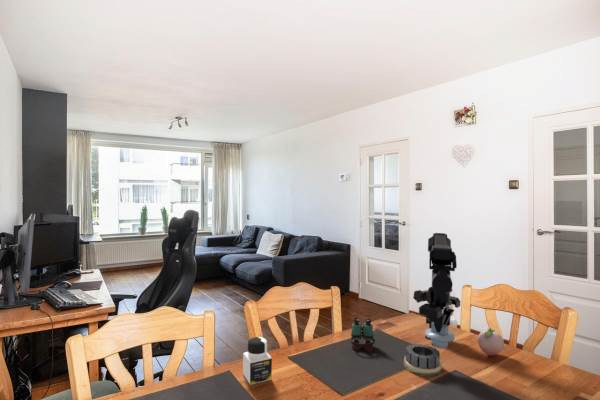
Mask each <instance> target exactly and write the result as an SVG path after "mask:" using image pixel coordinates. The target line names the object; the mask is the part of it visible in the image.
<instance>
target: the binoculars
mask: <svg viewBox="0 0 600 400" xmlns="http://www.w3.org/2000/svg"><path fill="white" fill-rule="evenodd" d="M371 322H372V318H370V317H369V318H366V319H365V322H360V319H359V318H358V317H353V323H352V325H351V332H350V337H351V338H350V344H351V349H352V350H353V351H356V352H359V351H360V350H361V348H363V349H364V351H366V352H371V351H373V349H374V347H373V346H374V344H375V342H376V339H375V337H374V327H373V324H372V323H371ZM362 339H363V341H364V343H360V341H361V340H362Z"/></svg>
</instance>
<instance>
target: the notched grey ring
mask: <svg viewBox="0 0 600 400" xmlns="http://www.w3.org/2000/svg"><path fill="white" fill-rule="evenodd" d="M405 349H406V350H405V355H404V357H403V366H404V368H405V370H407V371H408V372H410V373H412V374H414V375H417V376H421V377H436V376H438V375H439V376H440V374H441V373H442V362H441V361H440V360H441V357H440V355H441V354H440V351H439V350H438V349H436V347H434V346H430V345H426V344H421V343H413V344H409V345H406V347H405Z"/></svg>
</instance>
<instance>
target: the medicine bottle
mask: <svg viewBox="0 0 600 400" xmlns="http://www.w3.org/2000/svg"><path fill="white" fill-rule="evenodd" d="M272 362H273V359H272V356H271V355H270V354H269V353H268V341H267V339H266V338H264V337H262V336H261V337H260V336H255V337H254V336H253V337H252V338H250V339H249V340H248V341H247V351H245V352H243V353H242V374H243V375H242V376H244V378H245V379H246V380H247V382H248V384H249V385H250V386H251V385H255V384H259V383H263V382H267V381H271V380H272V372H273V371H272V370H273V369H272V367H273V366H272V364H273V363H272Z"/></svg>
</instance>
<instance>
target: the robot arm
mask: <svg viewBox="0 0 600 400" xmlns="http://www.w3.org/2000/svg"><path fill="white" fill-rule="evenodd" d="M427 240H428V241H427V252H428V253H429V257H428V258H429V263H428V264H429V268H428V269H429V270H431V286H430V287H428V289H426V290H420V289H419V290H415V291H414V292H413V296H412V298H413V299H414V300H415V301H416V303H422V302H427V303H424V304H422V305H421V306H419V307H418V314H419V315H422V316H425V324H427V325H428V324H429V326H428V329H429V328H431V323H432V322H434V326H435V329H436V332H438V333H440V331H441V329H442V326H443V324H444V325H447V326H450V325H451V317H452V316H453V313H454V312H455V309H452V308H451V307H450V306H451V305H453V306H454V307H455V308H459V307H461V299H459V297H456V296H451V293H452V292H453V281H452V277H451V274H452V273H451V272H455V271H456V269H457V255H456V252H455V251H453V248H452V241H451V239H450V238H449V237H448V234H447V233H443V232H435V233H433V234H432V236H430V237H429V238H428V239H427ZM425 338H426V339H428V340H431V339H430V338H428V337H427V336H426V335H425Z"/></svg>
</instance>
